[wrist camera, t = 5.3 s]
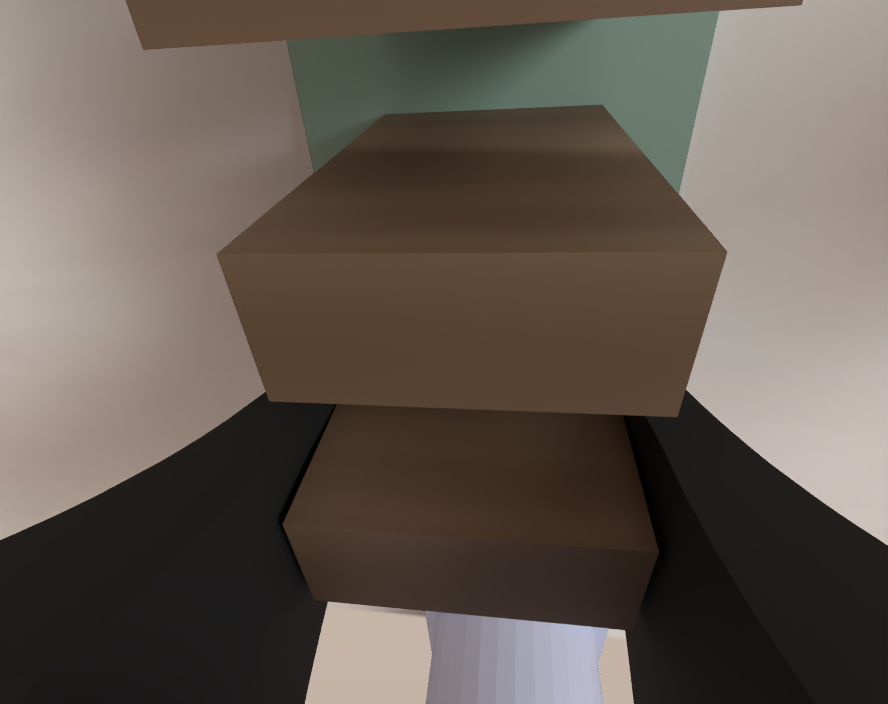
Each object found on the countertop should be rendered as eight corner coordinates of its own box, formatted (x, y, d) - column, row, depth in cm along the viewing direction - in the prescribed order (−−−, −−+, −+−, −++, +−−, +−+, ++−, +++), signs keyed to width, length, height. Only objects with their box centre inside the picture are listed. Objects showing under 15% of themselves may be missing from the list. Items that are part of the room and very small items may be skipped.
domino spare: (577, 336, 12) (631, 630, 6) (405, 334, 13) (313, 600, 7) (585, 271, 11) (659, 551, 5) (396, 270, 12) (282, 523, 6)
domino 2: (591, 195, 11) (677, 416, 5) (394, 199, 11) (269, 401, 5) (602, 104, 9) (727, 252, 4) (384, 114, 10) (216, 254, 4)
